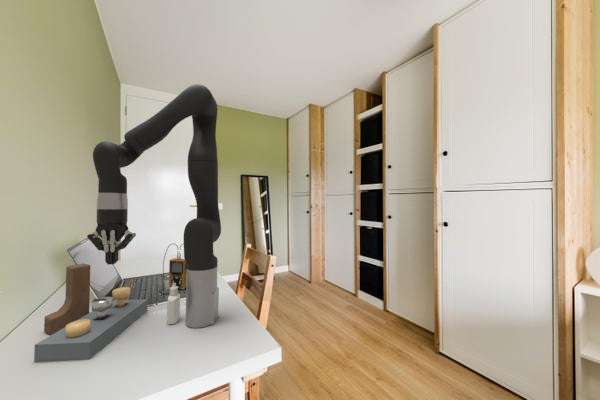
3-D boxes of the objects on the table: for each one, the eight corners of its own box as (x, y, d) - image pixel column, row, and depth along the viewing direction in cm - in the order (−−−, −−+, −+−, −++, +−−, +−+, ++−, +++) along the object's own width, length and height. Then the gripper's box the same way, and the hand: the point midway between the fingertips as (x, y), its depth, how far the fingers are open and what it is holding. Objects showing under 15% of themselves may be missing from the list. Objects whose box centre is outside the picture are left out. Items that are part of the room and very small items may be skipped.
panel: (147, 310, 83) (147, 299, 83) (89, 359, 57) (89, 342, 57) (110, 312, 82) (110, 300, 82) (34, 361, 56) (34, 344, 56)
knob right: (132, 305, 80) (133, 286, 81) (123, 311, 76) (124, 291, 76) (118, 305, 80) (118, 287, 80) (108, 311, 75) (109, 292, 76)
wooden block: (49, 335, 67) (51, 271, 67) (43, 331, 69) (45, 269, 69) (89, 321, 75) (91, 264, 75) (82, 318, 77) (84, 263, 77)
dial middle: (115, 317, 72) (116, 295, 72) (104, 324, 67) (105, 301, 68) (99, 317, 72) (100, 296, 72) (87, 325, 67) (88, 302, 67)
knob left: (94, 341, 64) (94, 318, 64) (80, 352, 59) (80, 327, 59) (75, 342, 63) (76, 319, 63) (59, 353, 58) (60, 328, 59)
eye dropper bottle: (185, 317, 78) (186, 281, 79) (172, 325, 73) (173, 286, 73) (174, 315, 79) (175, 279, 80) (160, 324, 74) (161, 285, 74)
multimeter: (148, 295, 97) (149, 246, 98) (165, 286, 107) (166, 242, 107) (180, 297, 95) (181, 247, 95) (195, 289, 105) (196, 243, 105)
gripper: (142, 207, 78) (141, 260, 78) (97, 207, 76) (96, 261, 76) (128, 208, 71) (127, 266, 70) (79, 208, 69) (78, 267, 69)
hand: (111, 263), depth 73 cm, fingers closed
